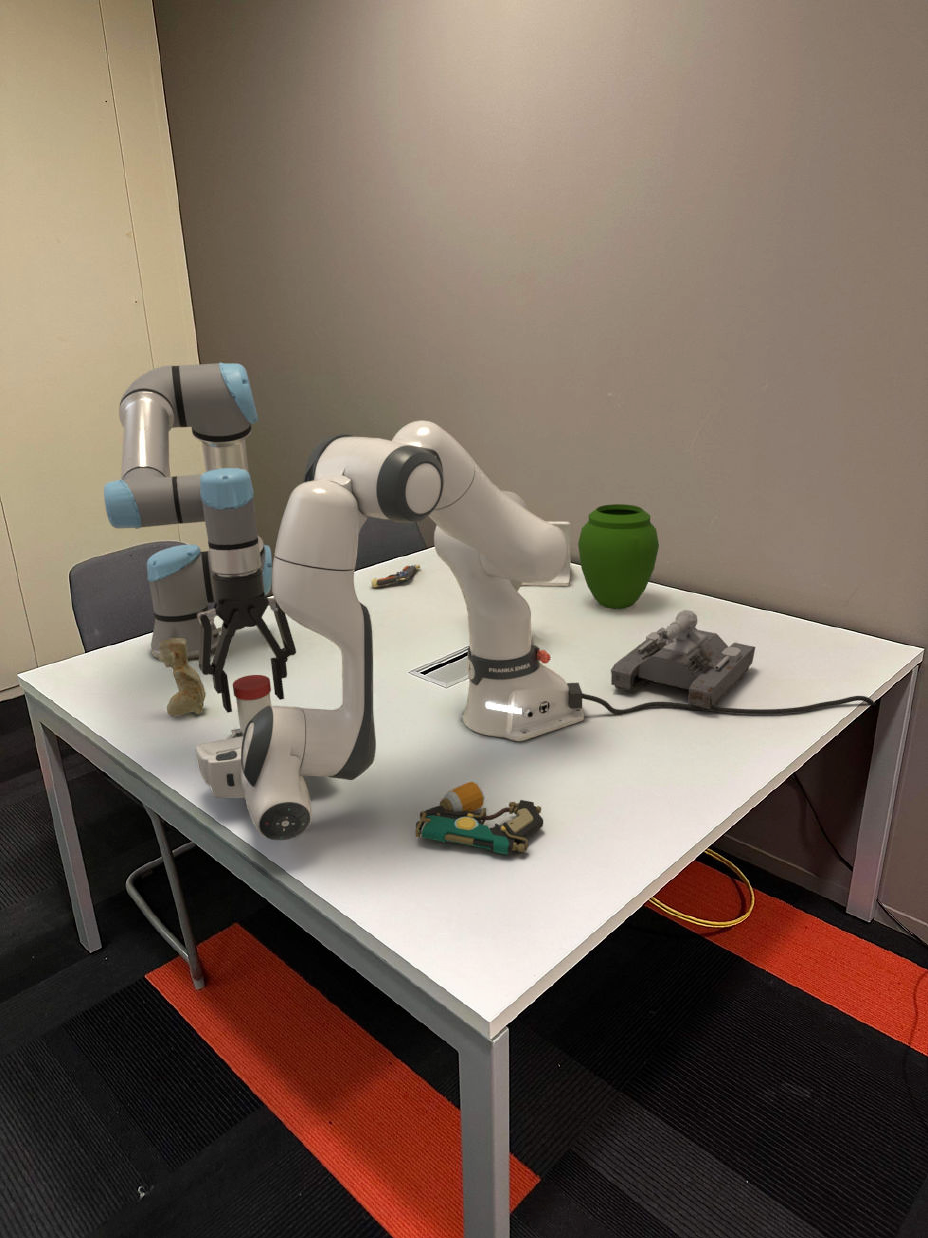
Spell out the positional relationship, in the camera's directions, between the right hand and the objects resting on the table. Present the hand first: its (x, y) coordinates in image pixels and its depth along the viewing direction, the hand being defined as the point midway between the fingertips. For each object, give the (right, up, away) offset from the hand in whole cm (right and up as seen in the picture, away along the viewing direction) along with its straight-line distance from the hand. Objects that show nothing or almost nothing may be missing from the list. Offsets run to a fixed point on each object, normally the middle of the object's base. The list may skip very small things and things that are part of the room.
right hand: (256, 729), depth 143 cm
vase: (+73, +22, +71) cm, 104 cm away
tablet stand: (+52, +31, +96) cm, 113 cm away
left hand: (0, +5, -3) cm, 5 cm away
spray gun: (+37, -13, -18) cm, 43 cm away
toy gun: (+16, +30, +96) cm, 102 cm away
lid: (0, +8, -4) cm, 9 cm away
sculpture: (-18, 0, +21) cm, 28 cm away
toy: (+79, +6, +29) cm, 84 cm away
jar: (+1, -7, +2) cm, 7 cm away
